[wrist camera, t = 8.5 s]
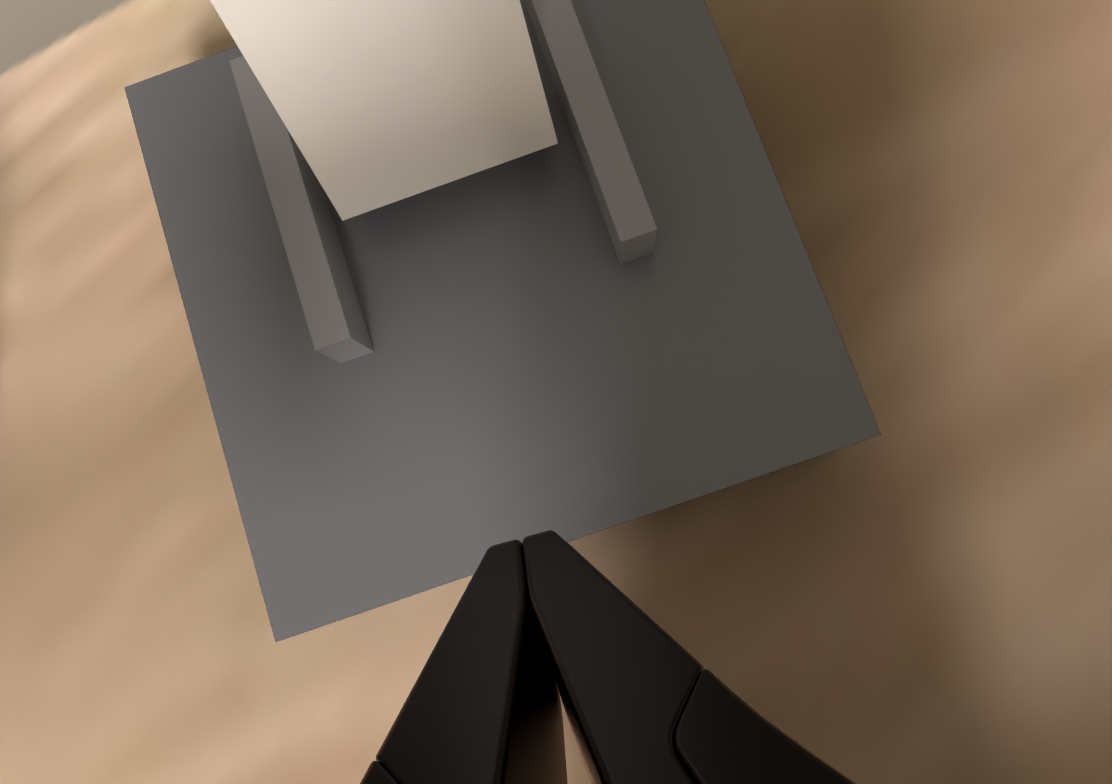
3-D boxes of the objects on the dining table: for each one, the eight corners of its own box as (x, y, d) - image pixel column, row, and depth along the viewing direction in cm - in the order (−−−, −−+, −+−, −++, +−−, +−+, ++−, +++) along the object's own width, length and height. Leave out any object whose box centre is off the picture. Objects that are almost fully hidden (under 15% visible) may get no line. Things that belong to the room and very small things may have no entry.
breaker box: (836, 445, 21) (907, 427, 16) (331, 618, 21) (241, 656, 16) (653, -17, 23) (663, -164, 18) (197, 148, 23) (81, 51, 18)
